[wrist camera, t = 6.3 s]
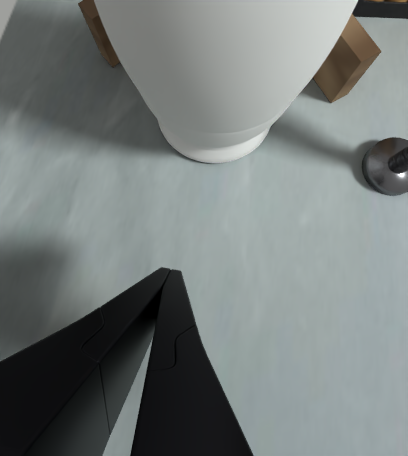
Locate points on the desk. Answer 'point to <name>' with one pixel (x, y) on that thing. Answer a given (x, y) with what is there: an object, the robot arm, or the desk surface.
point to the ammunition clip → (381, 8)
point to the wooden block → (325, 76)
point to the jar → (221, 64)
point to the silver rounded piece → (387, 166)
